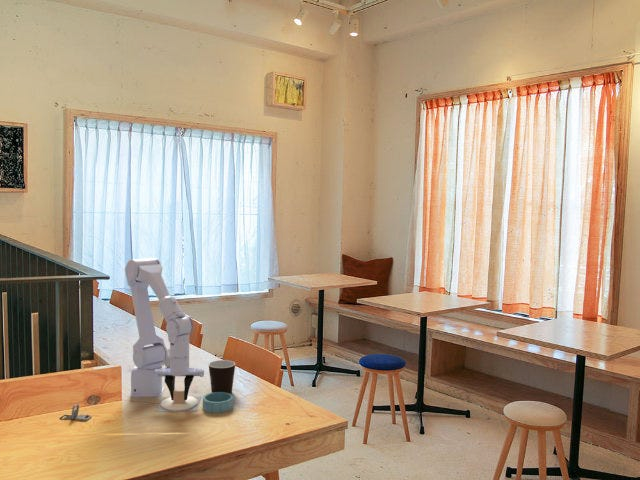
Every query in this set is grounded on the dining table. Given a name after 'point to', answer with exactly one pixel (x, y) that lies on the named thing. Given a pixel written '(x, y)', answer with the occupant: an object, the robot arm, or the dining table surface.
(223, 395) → the bowl
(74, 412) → the strap clip
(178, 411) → the mat
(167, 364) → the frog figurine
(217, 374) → the coffee mug
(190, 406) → the lid
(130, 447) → the dining table surface
